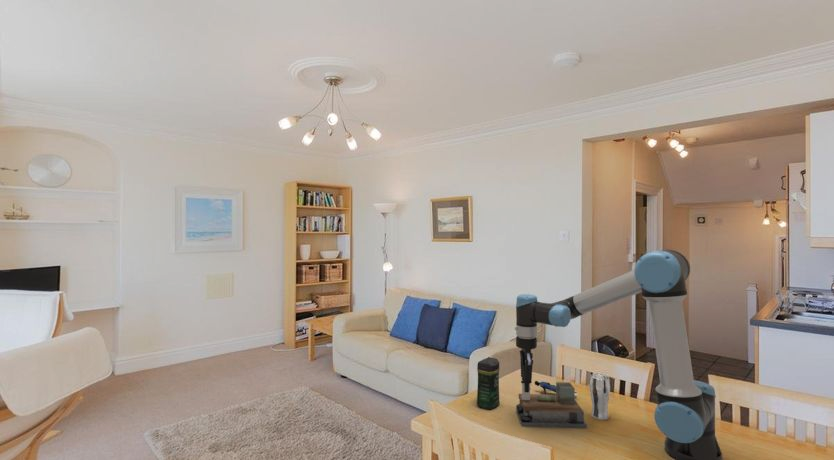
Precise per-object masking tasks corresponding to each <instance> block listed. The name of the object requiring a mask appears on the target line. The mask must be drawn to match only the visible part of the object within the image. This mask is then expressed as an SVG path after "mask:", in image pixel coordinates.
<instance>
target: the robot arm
mask: <svg viewBox="0 0 834 460" xmlns="http://www.w3.org/2000/svg"><path fill="white" fill-rule="evenodd" d="M690 273H691V265H690V262H689V260H688V259H687V257H686V256H685V255H683V254H682V253H680V252H679V251H676V250H673V249H662V250H653V251H650V252H647V253H645V254H644V255H642V256H641V257H640V258H639V259H638V260H637V261H636V263H635V266H634V269H633V270H630V271H628V272H626V273H623V274H621V275H619V276H617V277H615V278H612V279H610V280H607V281H605V282H603V283H600V284H598V285H596V286H593V287H590V288H588V289H587V290H584V291H582V292H579V293H577V294H575V295H572V296H569V297H567V298H566V299H563V300H559V301H555V302H552V303H551V302H550V303H548V302H540V301H538V297H537V296H536V295H534V294H529V293H528V294H518V295H517V296H516V303H515V308H516V311H515V313H516V314H515V315H516V316H515V317H516V320H515V321H516V324H515V325H516V327H514V330H515V331H516V333H515V334H516V337H515V346H516V347H517V348H518V349H521V350H520V351H519V356H520V378H521V380H520V382H521V394H522V400H530V394H531V384H532V382H533V381H532V379H533V364H534V359H533V357H534V356H533V352H532V350H534V349H536V348H537V347H538V346H537V345H538V343H537V342H538V339H537V336H538V325H537V324H544V325H549V326H554V327H556V328H557V327H559V328H560V327H561V328H565V327H567V326H569V324H570V322H571V320H574V319H576V318H579V317H580V316H583V315H586V314H587V313H591V312H593V311H596V310H598V309H602V308H603V307H606V306H609V305H611V304H614V303H617V302H619V301H623V300H625V299H628V298H631V297H632V296H635V295H638V294H640V293H641V296H642V297H641V298H643V299H644V300H645V301H646V302H648V304H649V305H648V307H649V312H650V319H651V327H652V333H653V334H652V335H653V340H654V348H655V356H656V362H657V368H658V374H659V376H658V377H659V381H660V382H659V384H658V385H657V386H656V387H655V395H656V397H655V398H656V403H657V406H656V408H655V409H654V410H655V411H654V414H653V415H654V422H655V424H656V427H657V428H658V429H659V431H660V432H661V433H662V434H663V435H664V436H666V437H665V439H664V451H665V452H666V454H667V453H668V454H667V455H668V456H670V455H671V456H672V457H671V456H670V457H671V458H673V457H674V458H676V459H678V460H723V453H722V449H721V448H720V444H719V442H718V438H717V437H716V397H717V396H716V391H715V388H714V386H712V385H711V384H709V383H706V382H703V381H700V380H696V379H694V378H695V377H694V374H693V367H692V360H691V353H690V352H691V351H690V346H689V339H688V333H687V325H686V319H685V311H684V306H683V305H684V304H683V301H684V300H685V299H686V298H687V296H688V292H687V285H686V284H687V283H686V280H687V279H688V278H689V276H690ZM674 458H673V459H674ZM676 459H675V460H676Z"/></svg>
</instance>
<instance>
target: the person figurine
mask: <svg viewBox="0 0 834 460" xmlns="http://www.w3.org/2000/svg"><path fill="white" fill-rule="evenodd" d="M534 385H535V386H537V387H540V388H542V390H543V392H544V395H548V394H547V390H549V391H552V392H554V393H555V394H556V385H555V384H551V383H550V382H547V381H541V382H539V381H538V380H535V381H534ZM577 397H578V393H577V391H575V399H576V398H577Z"/></svg>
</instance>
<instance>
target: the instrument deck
mask: <svg viewBox="0 0 834 460" xmlns="http://www.w3.org/2000/svg"><path fill="white" fill-rule="evenodd" d="M555 384H556V385H555V386H556V393H555V394H547V395H545V393H544V394H541V393H540V394H539V393H537V394H536V393H530V400H522V393H518V399H519V403H520V402H521V404H522V406H523V409H524V411H543V412H573V413H581V409H582V408H581V406H580V405H579V403H578V402H577V401H576V398H575V392H576V391H575V390H576V389H575V387H574V386H573V385H572V383H571V382H565V381H555Z"/></svg>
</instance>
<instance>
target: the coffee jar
mask: <svg viewBox="0 0 834 460" xmlns="http://www.w3.org/2000/svg"><path fill="white" fill-rule="evenodd" d="M476 366H477V368H476V370H477V371H476V372H477V390H476V391H477V393H476V404H477V406H478V407H480V408H481V409H485V410H486V409H487V410H488V409H489V410H493V409H495V408H496V407H498V405H500V361H499V360H498V359H497V358H496V357H495V358H494V357H490V356H488V357H485V358H483V359H481V360H480V361H478V362H477V365H476Z"/></svg>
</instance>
